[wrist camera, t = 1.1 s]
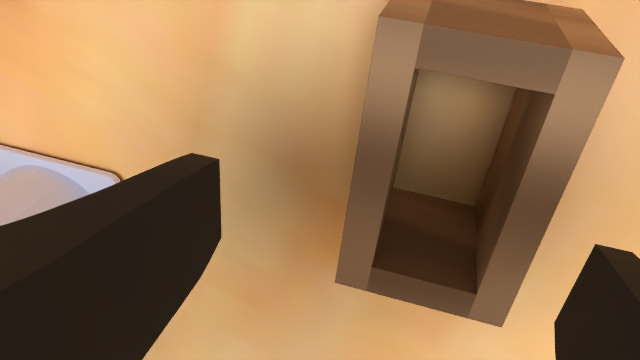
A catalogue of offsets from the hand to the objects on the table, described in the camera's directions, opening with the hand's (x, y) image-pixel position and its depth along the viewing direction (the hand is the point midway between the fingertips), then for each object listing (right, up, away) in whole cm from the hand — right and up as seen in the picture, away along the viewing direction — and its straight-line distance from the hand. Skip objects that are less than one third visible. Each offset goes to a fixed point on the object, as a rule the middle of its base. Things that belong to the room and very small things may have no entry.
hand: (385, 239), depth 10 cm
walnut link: (+4, +3, +8) cm, 10 cm away
